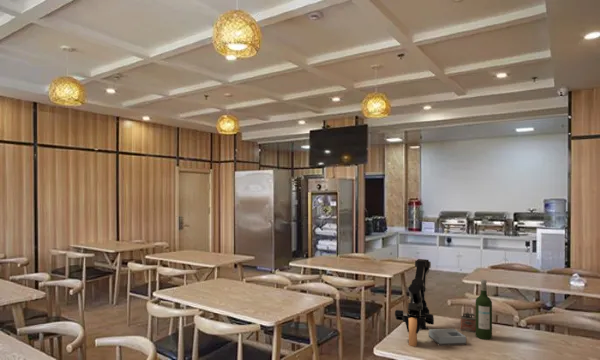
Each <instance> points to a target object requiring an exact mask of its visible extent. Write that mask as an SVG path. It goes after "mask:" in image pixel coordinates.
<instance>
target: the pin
mask: <svg viewBox="0 0 600 360" xmlns="http://www.w3.org/2000/svg"><path fill="white" fill-rule="evenodd" d="M416 332H417V318H413V317H411V318H409V332H408V346H409V347H417V346H418V334H417V333H416Z"/></svg>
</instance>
